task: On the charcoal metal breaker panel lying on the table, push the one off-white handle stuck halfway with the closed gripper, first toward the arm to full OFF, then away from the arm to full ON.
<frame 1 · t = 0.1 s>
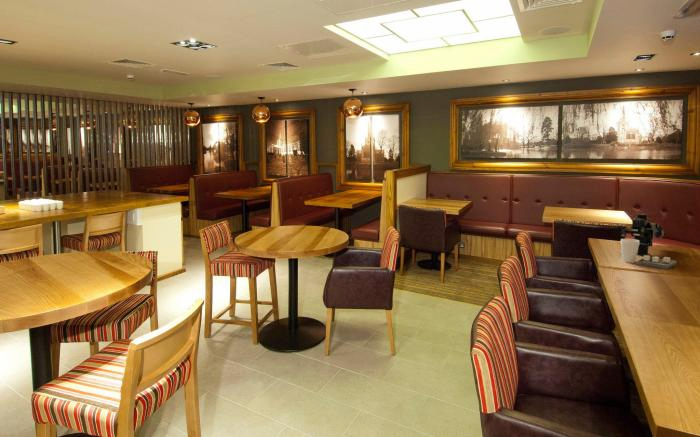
hand: (630, 234, 257), 17 cm above the table, tool horizontal, fingers open, 9 cm apart
breaker 2: (666, 259, 247), point 4 cm above the table, slide at 3.0 cm
breaker panel: (656, 264, 251), on the table
breaker middle: (655, 259, 249), point 4 cm above the table, slide at 6.0 cm
breaker 1: (646, 257, 252), point 4 cm above the table, slide at 6.0 cm
foam cup: (628, 261, 259), on the table
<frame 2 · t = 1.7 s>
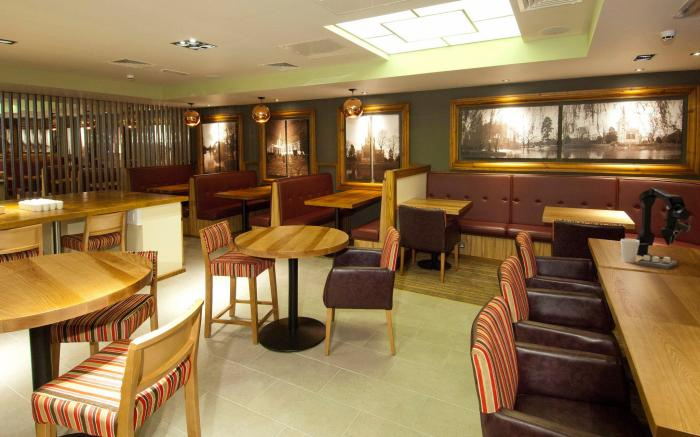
hand: (669, 244, 249), 12 cm above the table, tool pointing down, fingers open, 6 cm apart
nothing on the table moved.
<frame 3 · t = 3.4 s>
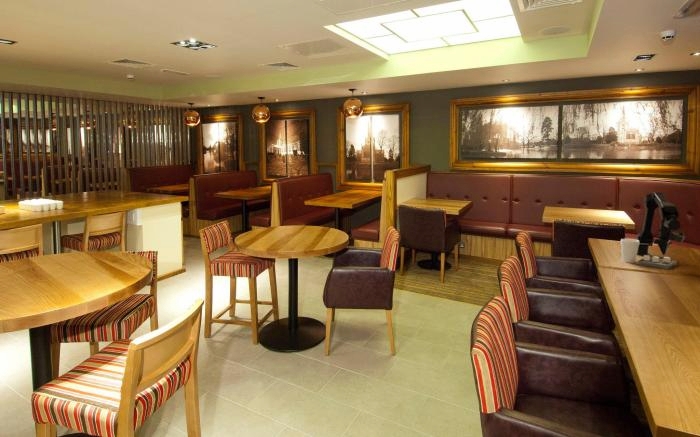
hand: (663, 254, 243), 8 cm above the table, tool pointing down, fingers closed
nothing on the table moved.
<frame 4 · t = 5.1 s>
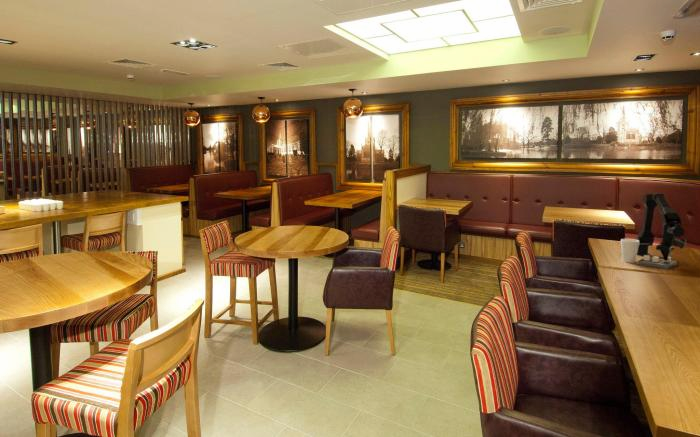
hand: (665, 260, 247), 3 cm above the table, tool pointing down, fingers closed
breaker 2: (667, 259, 248), point 4 cm above the table, slide at 1.5 cm, touching gripper
everything else where it was.
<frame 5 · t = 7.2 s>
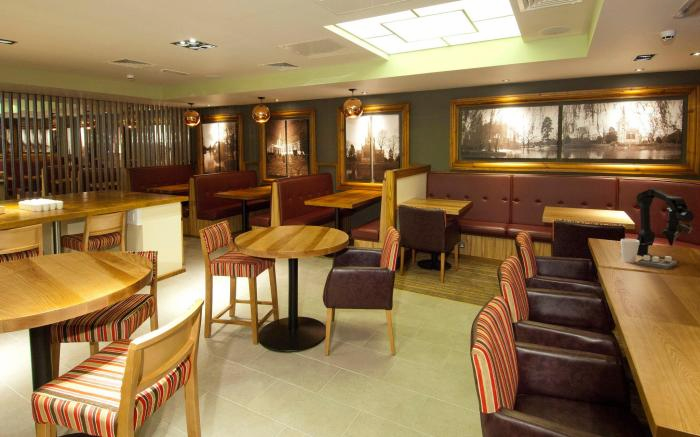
hand: (671, 245, 252), 11 cm above the table, tool pointing down, fingers closed
breaker 2: (668, 258, 249), point 4 cm above the table, slide at 0.1 cm
everything else where it was.
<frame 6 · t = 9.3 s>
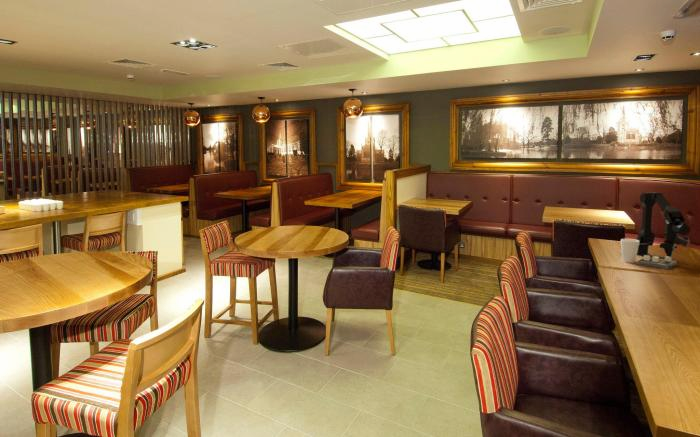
hand: (669, 258, 250), 4 cm above the table, tool pointing down, fingers closed
breaker 2: (668, 259, 249), point 4 cm above the table, slide at 0.4 cm, touching gripper
everything else where it was.
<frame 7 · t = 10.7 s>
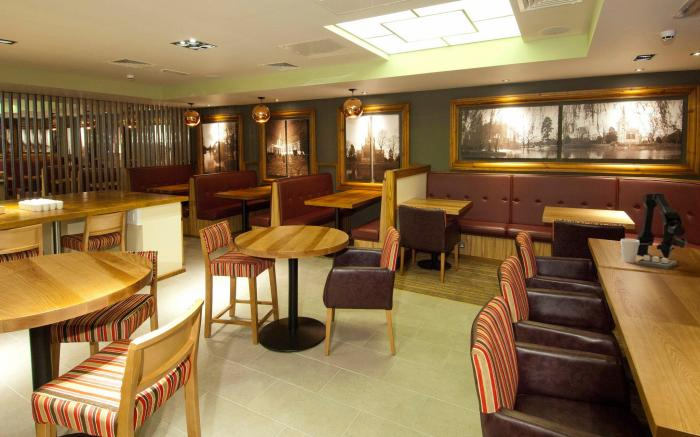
hand: (666, 259, 247), 4 cm above the table, tool pointing down, fingers closed
breaker 2: (665, 260, 246), point 4 cm above the table, slide at 5.8 cm, touching gripper
everything else where it was.
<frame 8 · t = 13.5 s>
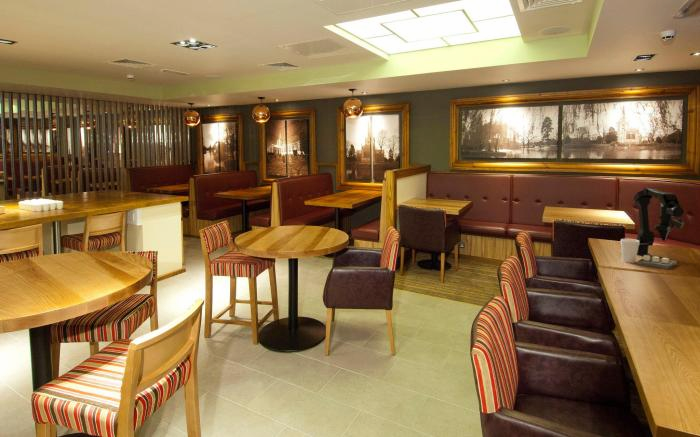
hand: (664, 240, 254), 13 cm above the table, tool pointing down, fingers closed
breaker 2: (665, 260, 246), point 4 cm above the table, slide at 5.8 cm
everything else where it was.
at the end: breaker 2 slide at 5.8 cm; breaker middle slide at 6.0 cm; breaker 1 slide at 6.0 cm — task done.
